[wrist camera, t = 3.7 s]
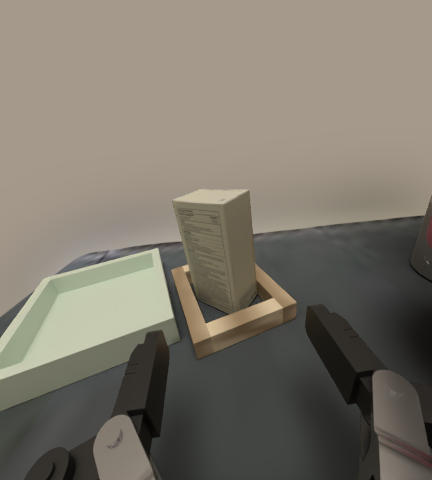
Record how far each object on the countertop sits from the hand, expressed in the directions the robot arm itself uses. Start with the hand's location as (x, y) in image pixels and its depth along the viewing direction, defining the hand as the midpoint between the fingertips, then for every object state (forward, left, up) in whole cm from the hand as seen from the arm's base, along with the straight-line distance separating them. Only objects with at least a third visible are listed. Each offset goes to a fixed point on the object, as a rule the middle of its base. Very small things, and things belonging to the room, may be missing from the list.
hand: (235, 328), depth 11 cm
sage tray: (+11, -14, -7) cm, 19 cm away
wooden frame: (-3, -10, -7) cm, 13 cm away
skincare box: (-3, -10, -7) cm, 13 cm away
